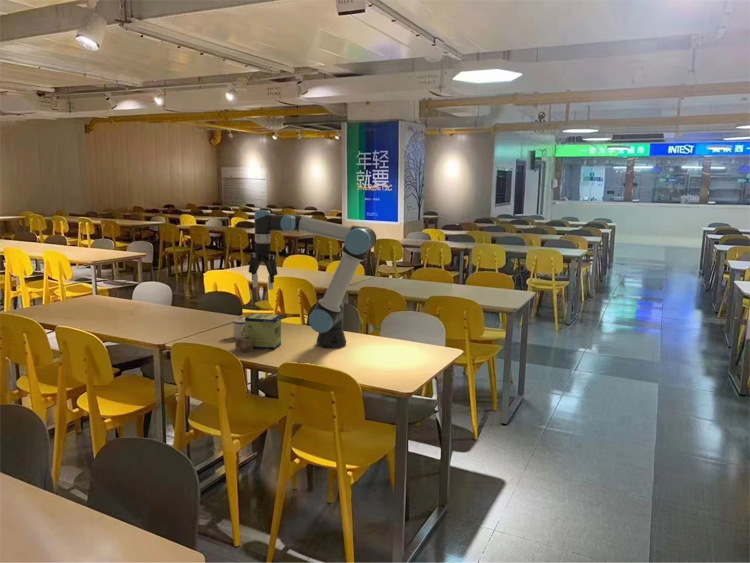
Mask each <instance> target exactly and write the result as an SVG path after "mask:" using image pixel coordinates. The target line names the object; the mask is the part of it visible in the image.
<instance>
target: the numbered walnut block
mask: <svg viewBox="0 0 750 563" xmlns="http://www.w3.org/2000/svg"><path fill="white" fill-rule="evenodd" d="M234 339H235V341H234V343H235V347H234V348H235V350H234V351H235V352H238V351H239V353H244V354H246V353H249V352H251V350H252V351H253V350H254V349H253V338H250V337H240V338H237V339H236V338H234Z"/></svg>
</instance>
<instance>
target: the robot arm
mask: <svg viewBox="0 0 750 563" xmlns="http://www.w3.org/2000/svg"><path fill="white" fill-rule="evenodd" d="M253 220H254V242H255V243H254V250H255V252H250V261H249V266H248V273H249V274H251V281H252V288H258V287H259V286H258V285H259V274H258V270H259V267H260V265H261V263H264V265H265V267H266V269H267V272H268V276H267V283H268V284H267V288H268V289H267V290H269V291H271V290H274V283H275V276H277V275H279V274H278V267H277V264H276V254H271V247H272V246H271V238H272V237H271V236H272V235H271V232H274V231H275V232H285V233H287V232H293V231H295V232H297V231H298V232H302V233H306V234H311V235H314V236H320V237H324V238H328V239H334V240H338V241H341V242H344V244H343V247H342V248H341V252H342V255H341V256H342V257H341V259H340V261H339V262H338V265H337V267H336V268H335V269H336V270H335V272H334V274H333V276H332V278H331V281H330V282H329V285H328V287H327V289H326V292H325V293H324V295H323V298H320V299H318V301H317V304H316V306H315V307H314V309H313V310H312V311H311V312H310V314H309V316H308V324H309V326H310V328H311V329H312V330H313V331H314V332H317V333H318V335H317V337H316V338H317V339H316V346H317V347H319V348H324V349H340V348H343V347H346V346H347V339H346V335H345V333H344V332H345V331H344V307H345V306H344V302H343V299H344V297H345V295H346V292H347V291H348V289H349V287H350V284H351V282H352V280H353V278H354V275H355V273H356V272H357V269H358V267H359V265H360V263H361V262H364V261H365V260H366V257H367V256H368V253H369V251H370V250H372V249H373V248H374V247H375V245H376V244H377V234H376V232H375V230H373V229H372V228H370V227H369V226H360V225H354V224H353V225H351V226H349V225H344V224H339V223H335V222H331V221H330V222H329V221H325V220H320V219H316V218H312V217H311V218H310V217H306V216H301V215H298V214H295V213H291V214H282V215H280V214H278V215H275V214H271V211H270V210H264V209H263V210H262V209H261V210H260V209H259V210H256V211H255V212H254V219H253Z"/></svg>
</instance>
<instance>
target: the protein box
mask: <svg viewBox="0 0 750 563" xmlns="http://www.w3.org/2000/svg"><path fill="white" fill-rule="evenodd" d="M245 337H250V338H253V350H255V349H256V350H264V349H268V351H276V350H277V349H278V348H279V347H280V346H281V345H282V315H281V314H266V313H251V314H250V315H248V316H246V317H245Z"/></svg>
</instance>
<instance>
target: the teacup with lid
mask: <svg viewBox="0 0 750 563" xmlns="http://www.w3.org/2000/svg"><path fill="white" fill-rule="evenodd" d="M245 318H246V317H245V316H244V315H243V314H242V315H239V317H237V318H235V319H233V321H232V323H233V338H234V339H237V338H240V337H245Z"/></svg>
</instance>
